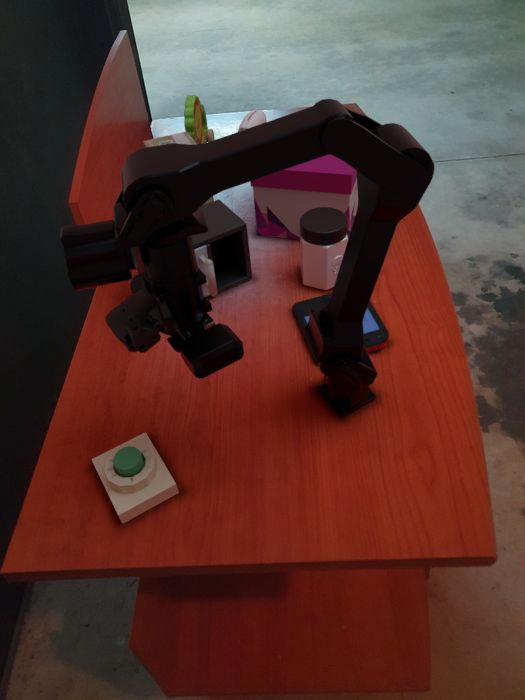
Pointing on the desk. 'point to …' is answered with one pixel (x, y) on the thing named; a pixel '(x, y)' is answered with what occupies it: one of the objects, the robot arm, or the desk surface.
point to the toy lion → (197, 121)
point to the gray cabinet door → (207, 269)
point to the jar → (322, 246)
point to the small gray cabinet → (222, 246)
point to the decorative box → (304, 195)
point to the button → (128, 461)
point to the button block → (136, 480)
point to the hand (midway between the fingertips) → (195, 364)
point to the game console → (372, 322)
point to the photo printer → (253, 119)
